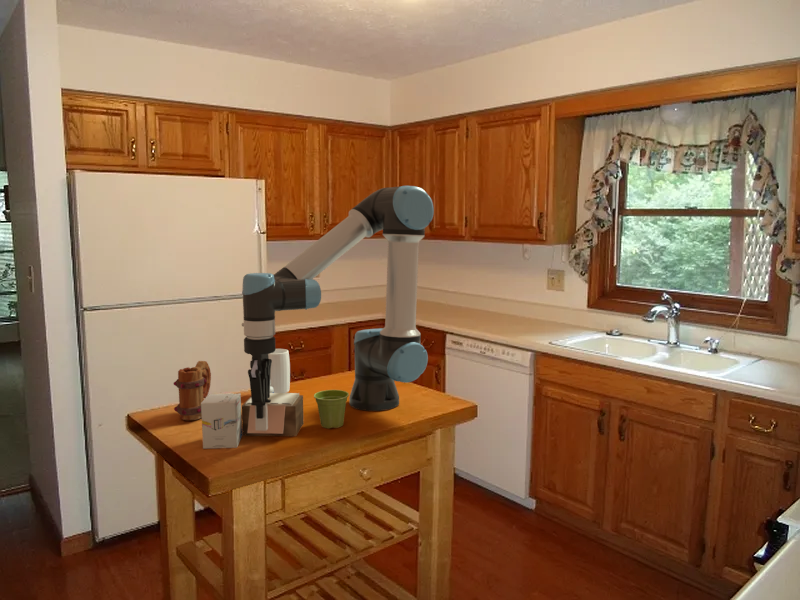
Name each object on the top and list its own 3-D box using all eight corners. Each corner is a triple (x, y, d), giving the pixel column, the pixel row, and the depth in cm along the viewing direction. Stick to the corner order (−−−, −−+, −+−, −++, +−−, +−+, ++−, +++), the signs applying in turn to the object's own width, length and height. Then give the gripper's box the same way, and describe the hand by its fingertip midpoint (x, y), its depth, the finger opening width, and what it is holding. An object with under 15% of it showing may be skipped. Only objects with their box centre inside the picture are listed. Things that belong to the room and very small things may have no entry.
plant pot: (335, 433, 162) (334, 401, 160) (307, 427, 167) (306, 395, 165) (356, 423, 169) (355, 392, 168) (329, 417, 174) (328, 387, 173)
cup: (287, 398, 193) (286, 354, 192) (261, 398, 193) (259, 354, 192) (292, 390, 202) (291, 348, 200) (267, 390, 202) (265, 348, 200)
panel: (285, 406, 158) (284, 405, 157) (283, 433, 156) (282, 433, 155) (250, 405, 158) (250, 405, 158) (247, 433, 156) (247, 432, 155)
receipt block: (303, 423, 169) (302, 392, 168) (296, 436, 159) (295, 403, 158) (253, 423, 170) (252, 392, 169) (242, 435, 160) (241, 403, 159)
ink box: (209, 437, 159) (207, 393, 158) (243, 436, 160) (241, 392, 158) (201, 449, 151) (199, 402, 149) (237, 448, 151) (235, 402, 150)
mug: (196, 424, 169) (194, 371, 167) (169, 422, 170) (166, 369, 168) (222, 408, 183) (220, 359, 181) (197, 407, 184) (194, 358, 182)
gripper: (252, 331, 157) (254, 420, 160) (236, 341, 144) (238, 438, 147) (281, 331, 157) (282, 421, 160) (267, 341, 144) (269, 438, 147)
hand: (261, 429), depth 154 cm, fingers closed
